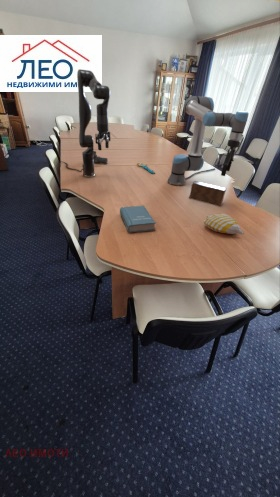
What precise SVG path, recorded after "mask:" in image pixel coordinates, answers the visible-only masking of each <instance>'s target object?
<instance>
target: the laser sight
mask: <svg viewBox="0 0 280 497" xmlns="http://www.w3.org/2000/svg"><path fill="white" fill-rule="evenodd" d="M93 157H94V164H105V165H106V164H108V158H107V157H101V156H98V154H97V151H96V150H94V153H93Z"/></svg>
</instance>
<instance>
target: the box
mask: <svg viewBox="0 0 280 497" xmlns="http://www.w3.org/2000/svg"><path fill="white" fill-rule="evenodd" d="M226 191H227V187H222V186H218V185H216V184H215V185H214V184H210V183H206V182H201V181H197V180H194V181H193V182H192V183H191V188H190V191H189V192H190V193H189V197H188V198H189V199H191V200H196V201H199V202H203V203H206V204H210V205H214V206H216V207H217V206H218V207H221V206H222V204H223V201H224V199H225V195H226Z"/></svg>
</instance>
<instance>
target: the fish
mask: <svg viewBox="0 0 280 497" xmlns="http://www.w3.org/2000/svg"><path fill="white" fill-rule="evenodd" d="M203 223H204V225H205V226H206V227H207V228H208V229H210V230H212V231H214V232H217V233H222V234H227V235H237V234H239V235H244V234H245V233H244V232H243V231H242V229H241V227H240V225H239V224H238V222H237V219H236V218H235V217H232V216H230V215H229V214H228V213H216V214H210V215H207V216H206V218H205V219H204V220H203Z"/></svg>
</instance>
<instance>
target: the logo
mask: <svg viewBox="0 0 280 497" xmlns="http://www.w3.org/2000/svg"><path fill="white" fill-rule="evenodd" d="M137 166H138V167H141V168H143V169H145V170H146V171H147V172H149V173H150V174H152V175H153V174H154V175H155V174H156V172H155V171H154V170H152V169H150V168H149V166H147V163H144V162H142V163H141V162H137Z"/></svg>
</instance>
